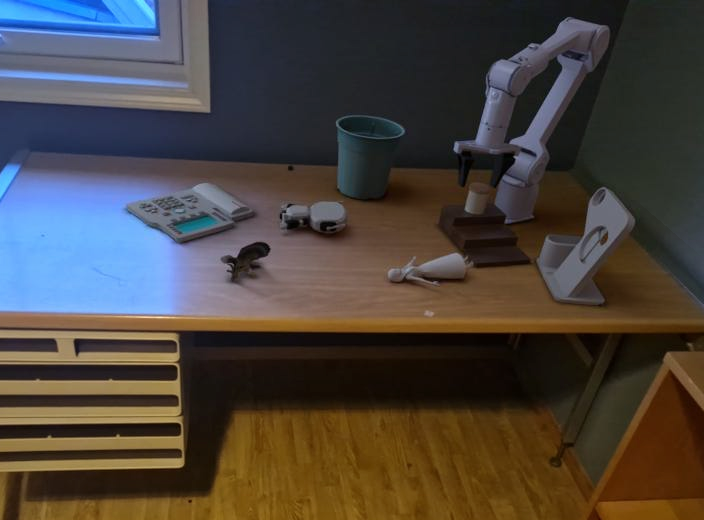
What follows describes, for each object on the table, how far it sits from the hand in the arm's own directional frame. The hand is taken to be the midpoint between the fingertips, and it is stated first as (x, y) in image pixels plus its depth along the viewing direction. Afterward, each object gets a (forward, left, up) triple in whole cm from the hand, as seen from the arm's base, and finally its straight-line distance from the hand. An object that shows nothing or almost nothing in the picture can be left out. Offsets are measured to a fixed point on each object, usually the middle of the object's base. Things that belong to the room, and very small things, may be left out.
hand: (477, 185), depth 145 cm
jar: (-1, 0, -6) cm, 6 cm away
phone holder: (-5, +26, -11) cm, 29 cm away
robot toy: (+33, -15, -11) cm, 37 cm away
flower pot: (+11, -28, -11) cm, 32 cm away
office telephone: (+55, -30, -11) cm, 63 cm away
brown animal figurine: (+55, -2, -11) cm, 56 cm away
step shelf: (+1, +6, -11) cm, 13 cm away
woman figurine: (+22, +13, -11) cm, 28 cm away
